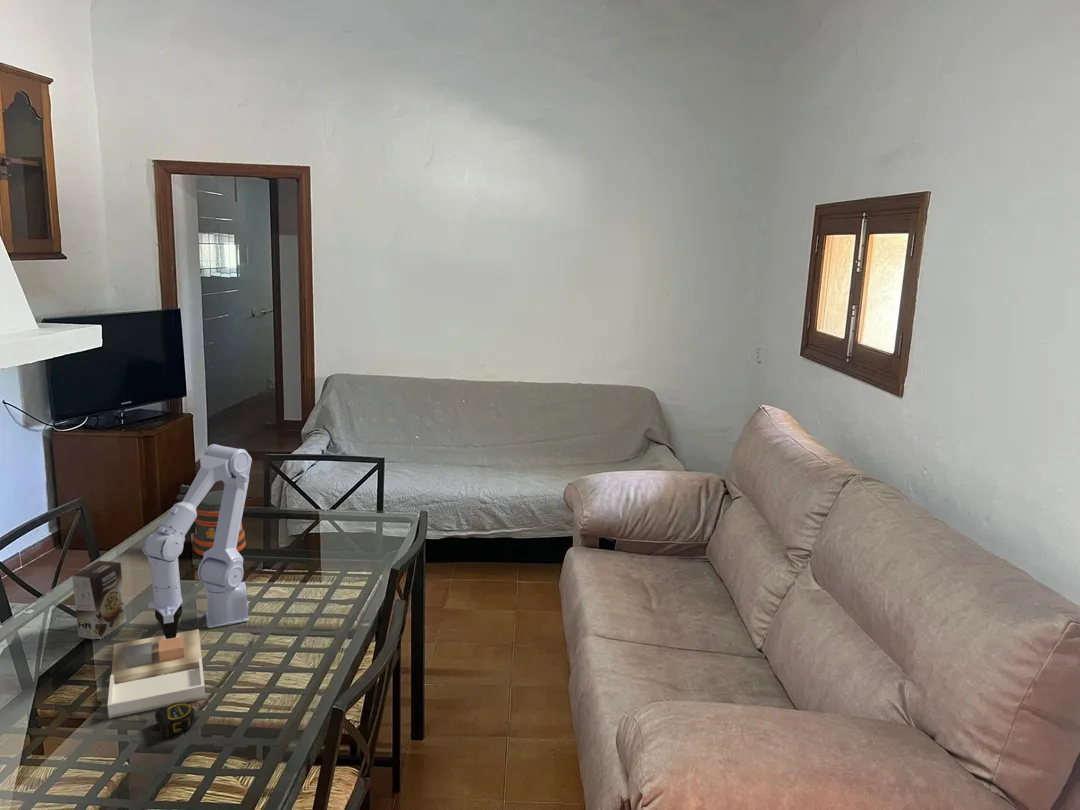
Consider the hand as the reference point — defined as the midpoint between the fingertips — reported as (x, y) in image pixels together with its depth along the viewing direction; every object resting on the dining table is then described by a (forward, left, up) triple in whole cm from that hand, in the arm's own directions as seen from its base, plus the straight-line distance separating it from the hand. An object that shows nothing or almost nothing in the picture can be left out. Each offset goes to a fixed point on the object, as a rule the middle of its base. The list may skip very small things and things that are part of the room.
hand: (171, 637), depth 187 cm
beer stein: (-12, -57, -3) cm, 58 cm away
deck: (+3, +4, -3) cm, 6 cm away
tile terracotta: (0, +6, -1) cm, 6 cm away
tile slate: (+6, +6, -1) cm, 9 cm away
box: (+3, +17, -3) cm, 18 cm away
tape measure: (0, +32, -4) cm, 32 cm away
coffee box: (+15, -16, -3) cm, 22 cm away
